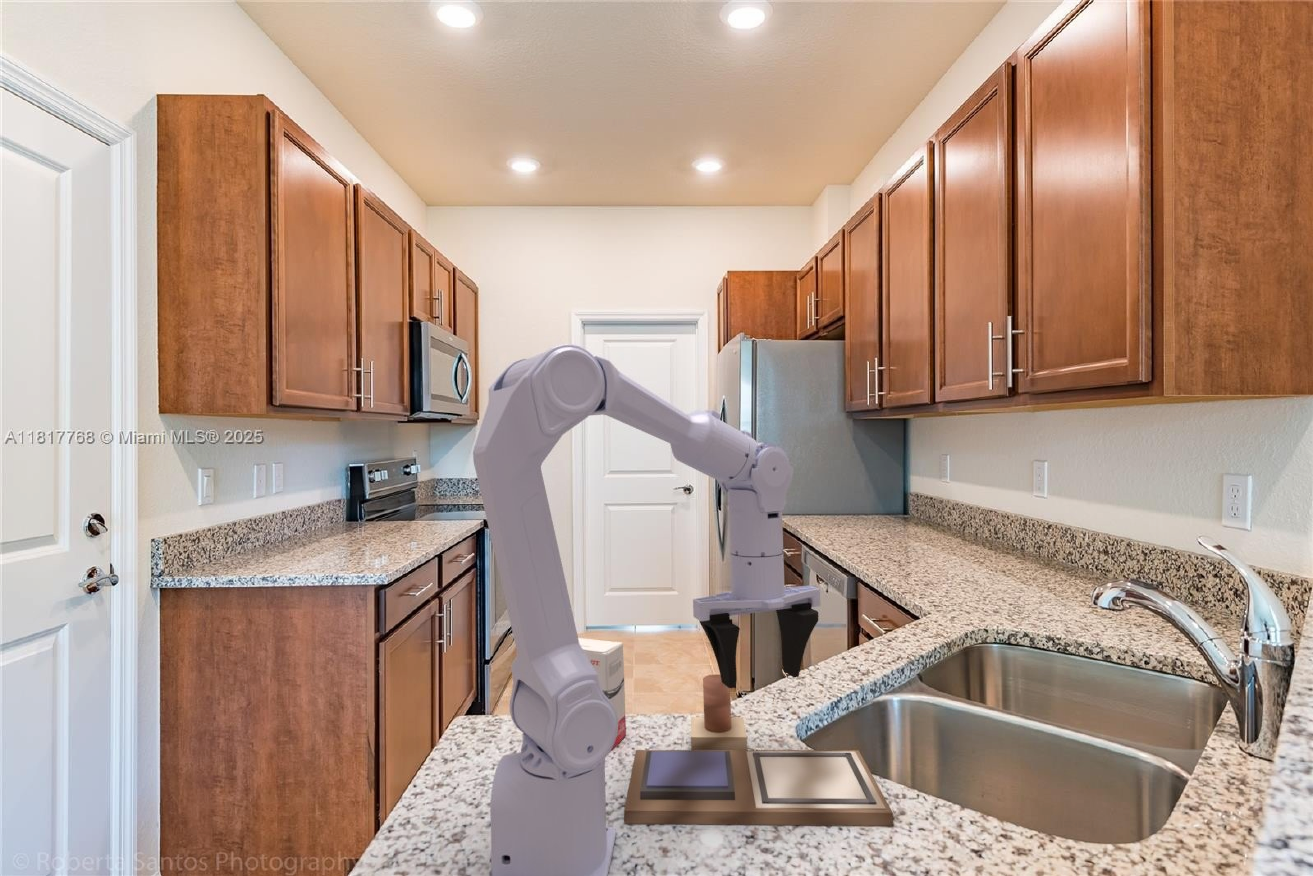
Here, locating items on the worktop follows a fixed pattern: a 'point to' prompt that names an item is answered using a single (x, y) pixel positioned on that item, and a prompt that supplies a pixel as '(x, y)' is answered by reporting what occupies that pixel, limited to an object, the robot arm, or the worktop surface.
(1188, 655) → the worktop surface
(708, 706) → the stamp
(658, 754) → the desk board
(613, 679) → the ink box
